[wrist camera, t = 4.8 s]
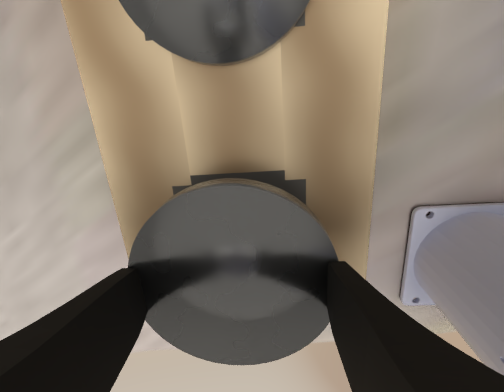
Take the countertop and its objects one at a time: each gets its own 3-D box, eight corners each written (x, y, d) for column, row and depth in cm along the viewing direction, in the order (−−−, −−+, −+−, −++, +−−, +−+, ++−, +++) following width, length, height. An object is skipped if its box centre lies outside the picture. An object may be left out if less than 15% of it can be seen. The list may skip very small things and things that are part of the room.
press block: (357, -105, 13) (406, -215, 9) (341, 240, 20) (365, 285, 15) (101, -73, 14) (19, -156, 9) (166, 247, 21) (137, 291, 16)
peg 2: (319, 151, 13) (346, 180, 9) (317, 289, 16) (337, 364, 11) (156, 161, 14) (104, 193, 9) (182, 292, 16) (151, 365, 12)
